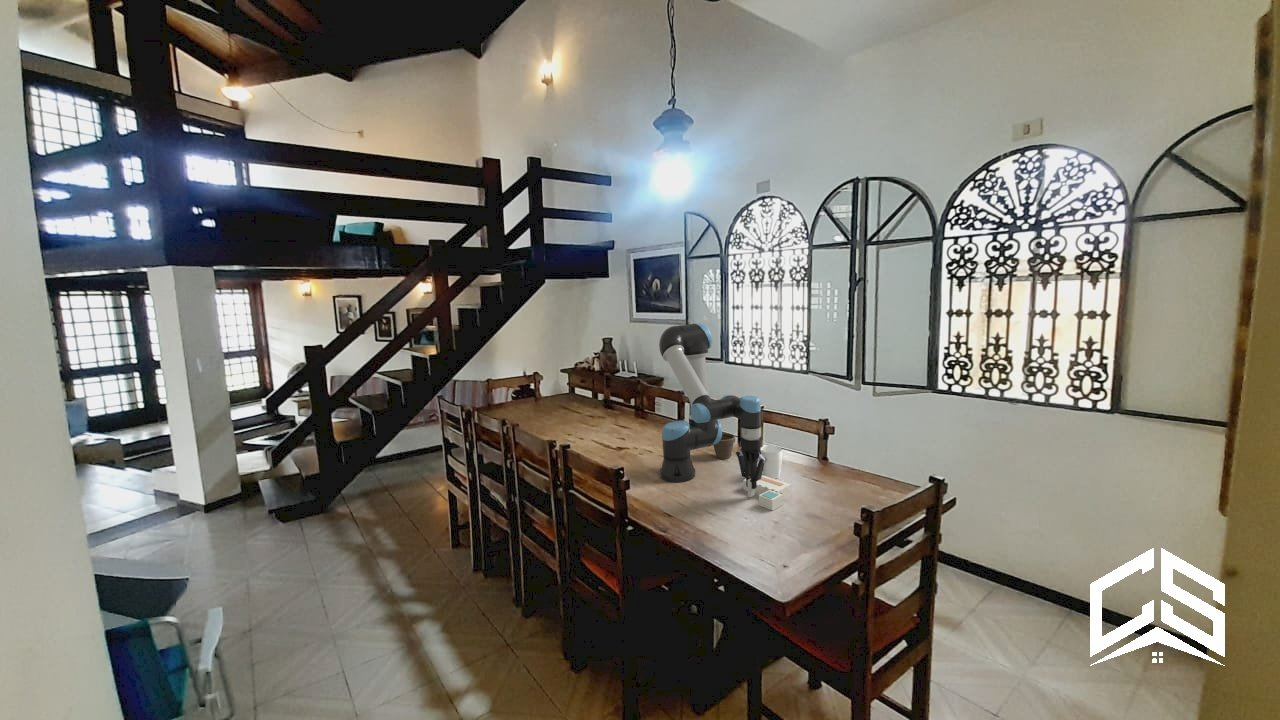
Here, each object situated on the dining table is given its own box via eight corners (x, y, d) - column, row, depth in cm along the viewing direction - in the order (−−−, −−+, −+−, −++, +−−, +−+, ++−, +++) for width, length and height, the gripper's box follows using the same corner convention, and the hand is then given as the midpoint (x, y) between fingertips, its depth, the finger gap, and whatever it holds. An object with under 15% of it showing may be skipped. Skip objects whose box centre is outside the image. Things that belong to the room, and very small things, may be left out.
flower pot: (718, 451, 255) (717, 431, 253) (740, 454, 248) (739, 434, 246) (707, 458, 245) (706, 438, 244) (729, 462, 239) (728, 441, 237)
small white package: (743, 489, 210) (743, 479, 209) (757, 482, 215) (757, 473, 215) (777, 501, 198) (777, 491, 197) (791, 494, 203) (791, 484, 203)
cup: (783, 480, 216) (783, 452, 214) (760, 480, 218) (760, 452, 216) (782, 472, 225) (781, 445, 223) (760, 471, 227) (759, 445, 225)
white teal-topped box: (759, 505, 195) (758, 494, 194) (770, 499, 199) (770, 488, 199) (772, 510, 190) (772, 499, 190) (783, 504, 195) (783, 493, 194)
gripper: (730, 435, 200) (732, 493, 205) (758, 443, 190) (759, 504, 195) (743, 431, 205) (744, 487, 209) (771, 438, 195) (771, 497, 199)
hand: (751, 495), depth 202 cm, fingers closed
